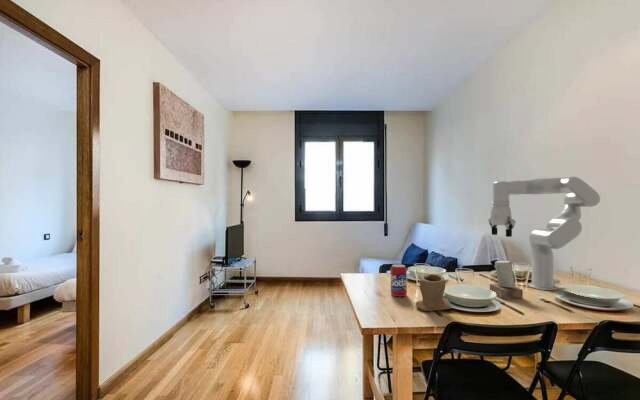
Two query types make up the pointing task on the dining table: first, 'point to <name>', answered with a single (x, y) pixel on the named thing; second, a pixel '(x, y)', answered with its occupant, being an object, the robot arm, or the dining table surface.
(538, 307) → the dining table surface
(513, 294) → the walnut block
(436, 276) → the stone cup
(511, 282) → the skincare box
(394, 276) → the soda can
